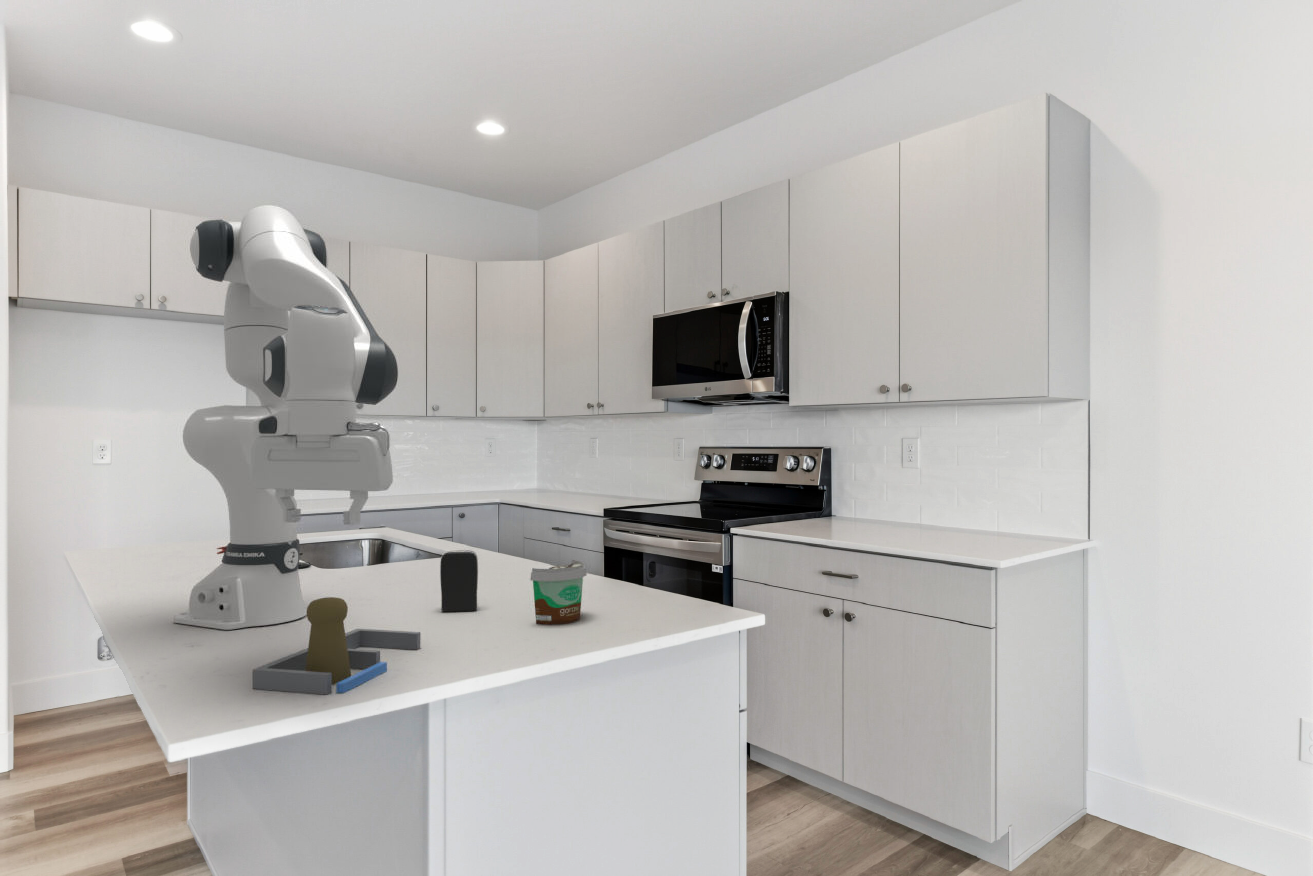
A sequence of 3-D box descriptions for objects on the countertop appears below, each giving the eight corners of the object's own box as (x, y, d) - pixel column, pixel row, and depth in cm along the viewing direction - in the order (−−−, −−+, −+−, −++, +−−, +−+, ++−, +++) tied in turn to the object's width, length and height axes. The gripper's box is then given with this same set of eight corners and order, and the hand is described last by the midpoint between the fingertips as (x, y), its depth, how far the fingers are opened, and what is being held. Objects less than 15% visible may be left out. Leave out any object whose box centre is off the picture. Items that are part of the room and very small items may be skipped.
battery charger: (479, 607, 154) (478, 548, 154) (477, 611, 150) (477, 551, 150) (442, 608, 153) (442, 549, 153) (440, 613, 149) (439, 552, 149)
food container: (558, 630, 136) (557, 571, 136) (530, 625, 139) (530, 568, 139) (600, 616, 146) (600, 561, 146) (574, 612, 149) (573, 559, 149)
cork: (334, 686, 105) (333, 603, 105) (294, 684, 106) (293, 602, 106) (360, 673, 111) (359, 594, 111) (321, 671, 112) (321, 593, 112)
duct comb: (252, 688, 105) (252, 669, 105) (357, 644, 127) (357, 628, 127) (338, 695, 102) (338, 676, 102) (430, 648, 124) (430, 632, 124)
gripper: (401, 422, 109) (401, 522, 110) (274, 422, 114) (274, 518, 114) (375, 422, 103) (375, 528, 103) (242, 422, 108) (242, 523, 108)
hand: (321, 523), depth 109 cm, fingers open, 8 cm apart
